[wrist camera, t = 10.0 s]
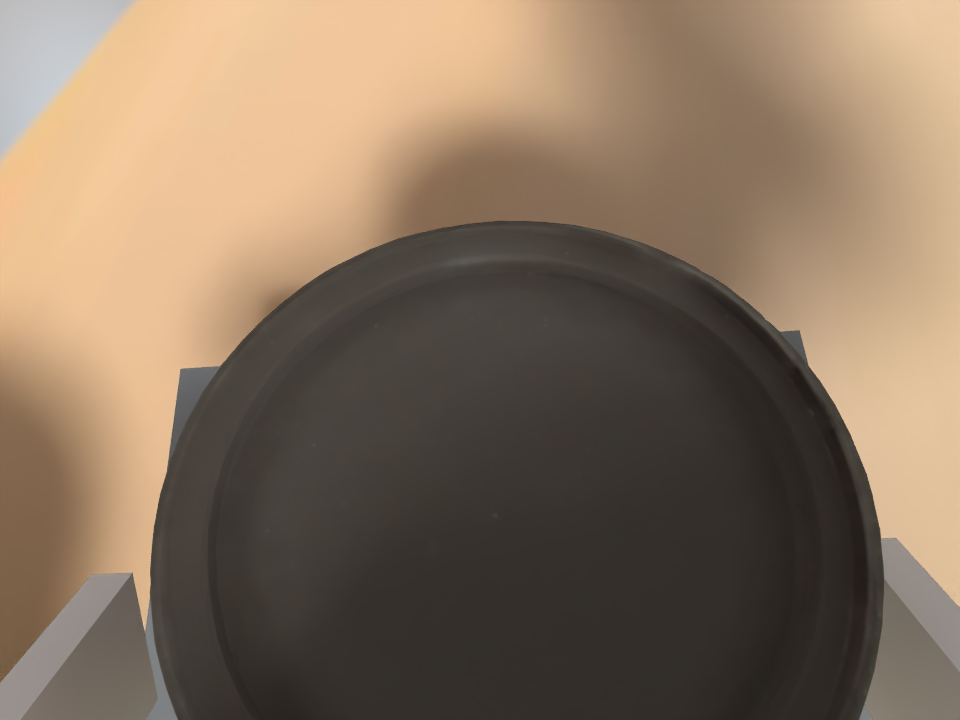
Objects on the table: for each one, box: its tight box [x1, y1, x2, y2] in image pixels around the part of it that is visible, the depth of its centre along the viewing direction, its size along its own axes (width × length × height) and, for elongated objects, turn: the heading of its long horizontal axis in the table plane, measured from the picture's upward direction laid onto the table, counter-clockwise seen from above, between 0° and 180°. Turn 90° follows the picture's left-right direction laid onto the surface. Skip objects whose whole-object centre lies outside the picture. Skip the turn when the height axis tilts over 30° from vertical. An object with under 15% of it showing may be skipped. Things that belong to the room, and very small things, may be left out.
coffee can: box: [150, 221, 884, 720], centre depth 18 cm, size 10×10×14 cm
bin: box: [145, 331, 873, 720], centre depth 24 cm, size 18×16×7 cm
